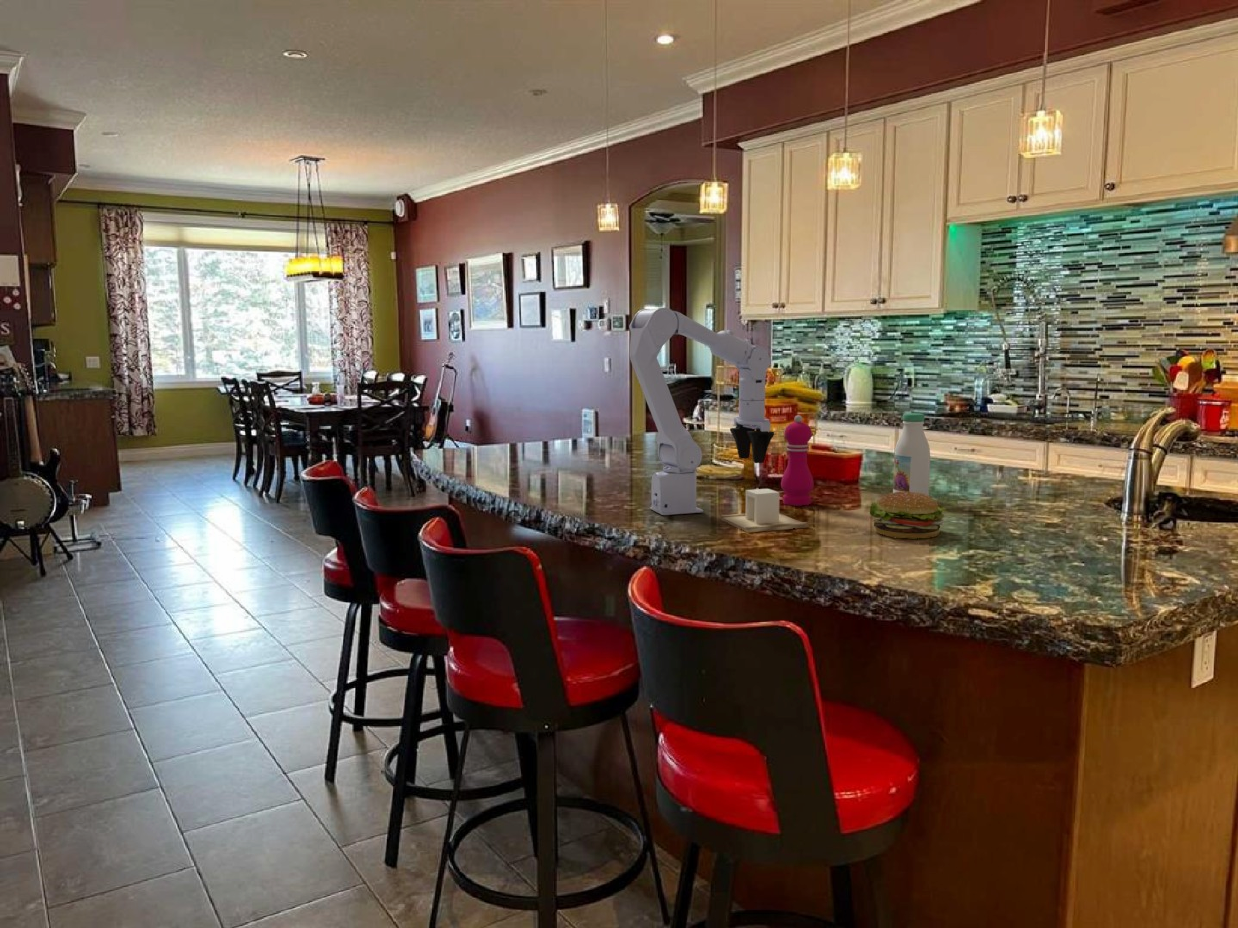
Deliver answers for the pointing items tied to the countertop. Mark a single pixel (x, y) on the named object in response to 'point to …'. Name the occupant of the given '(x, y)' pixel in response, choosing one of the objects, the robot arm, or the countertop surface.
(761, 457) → the robot arm
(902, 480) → the milk bottle
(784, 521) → the plate
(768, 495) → the white block
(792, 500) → the pepper mill
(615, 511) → the countertop surface
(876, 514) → the food
